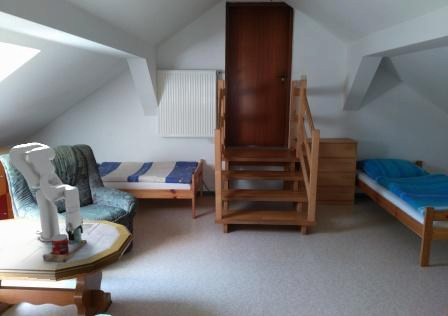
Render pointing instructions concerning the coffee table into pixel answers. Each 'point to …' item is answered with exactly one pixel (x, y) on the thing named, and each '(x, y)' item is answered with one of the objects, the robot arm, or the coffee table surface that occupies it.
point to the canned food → (60, 244)
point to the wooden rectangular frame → (65, 257)
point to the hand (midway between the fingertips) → (76, 236)
